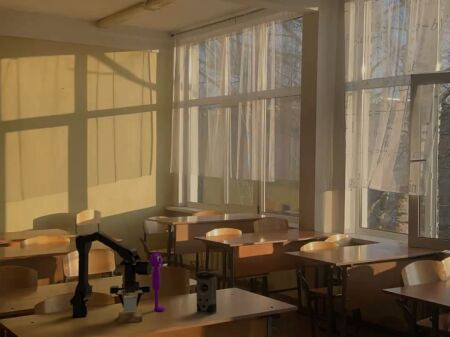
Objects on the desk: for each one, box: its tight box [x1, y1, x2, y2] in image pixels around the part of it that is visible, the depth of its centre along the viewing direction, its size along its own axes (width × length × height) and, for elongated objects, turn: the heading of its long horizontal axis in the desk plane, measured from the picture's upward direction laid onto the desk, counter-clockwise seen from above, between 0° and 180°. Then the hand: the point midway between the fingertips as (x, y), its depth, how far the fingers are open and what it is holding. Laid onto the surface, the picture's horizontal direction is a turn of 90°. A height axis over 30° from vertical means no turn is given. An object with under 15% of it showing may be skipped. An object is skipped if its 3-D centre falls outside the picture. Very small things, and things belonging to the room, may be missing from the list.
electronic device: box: [195, 270, 218, 315], centre depth 303 cm, size 9×6×20 cm, turn 62°
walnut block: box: [117, 310, 143, 324], centre depth 290 cm, size 11×10×3 cm
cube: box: [123, 295, 138, 312], centre depth 291 cm, size 6×6×6 cm
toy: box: [148, 250, 168, 312], centre depth 308 cm, size 34×8×30 cm, turn 169°
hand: (130, 307), depth 291 cm, fingers closed on cube, 6 cm apart
